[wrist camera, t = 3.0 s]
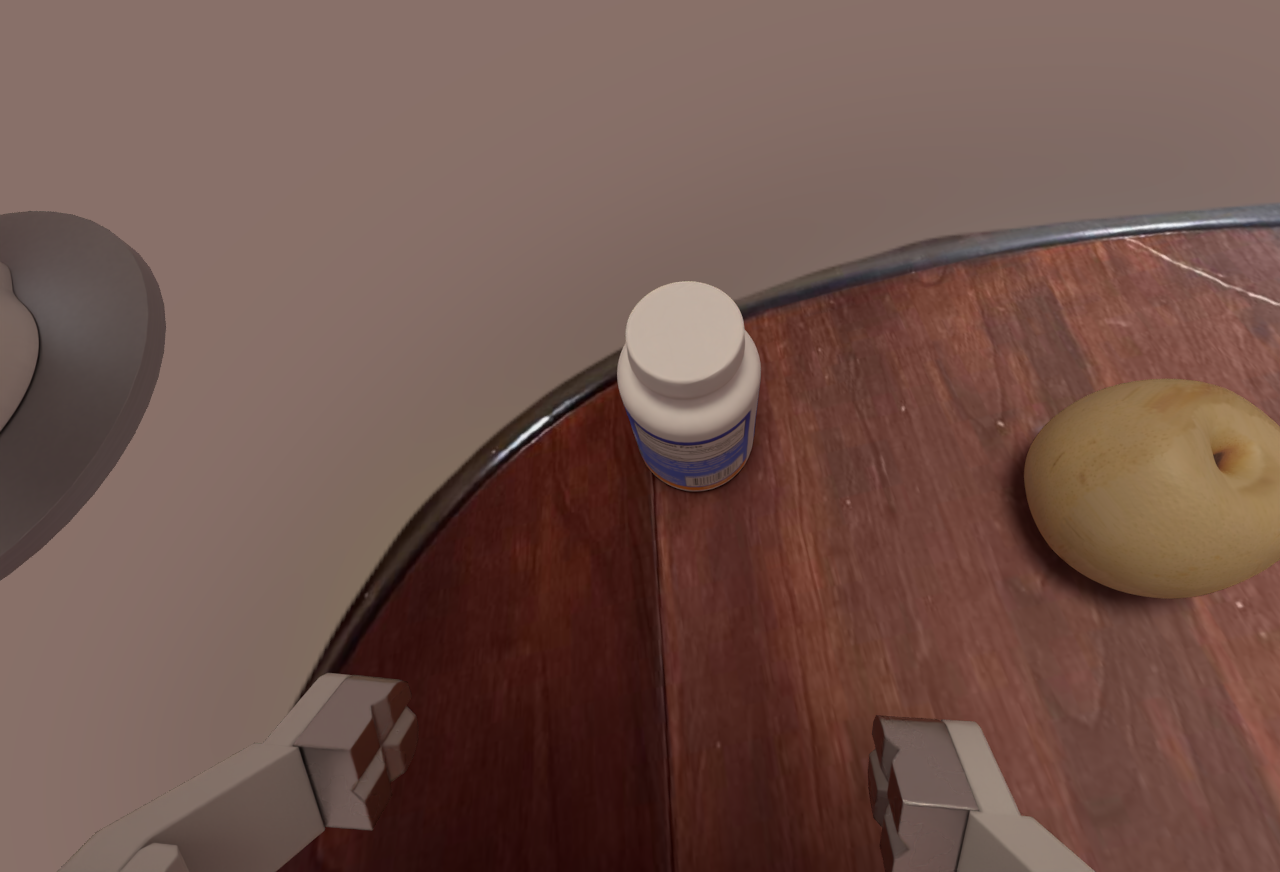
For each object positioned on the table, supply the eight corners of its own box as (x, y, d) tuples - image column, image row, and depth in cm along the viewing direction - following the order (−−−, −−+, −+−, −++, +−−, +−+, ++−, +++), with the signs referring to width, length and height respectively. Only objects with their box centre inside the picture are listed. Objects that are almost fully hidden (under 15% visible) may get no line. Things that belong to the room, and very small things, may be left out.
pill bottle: (661, 377, 31) (634, 246, 22) (767, 405, 30) (784, 278, 21) (622, 476, 29) (577, 376, 20) (734, 510, 28) (737, 419, 19)
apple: (950, 464, 27) (1083, 321, 22) (1090, 479, 29) (1241, 353, 24) (1053, 634, 22) (1261, 499, 16) (1214, 637, 24) (1443, 519, 19)
